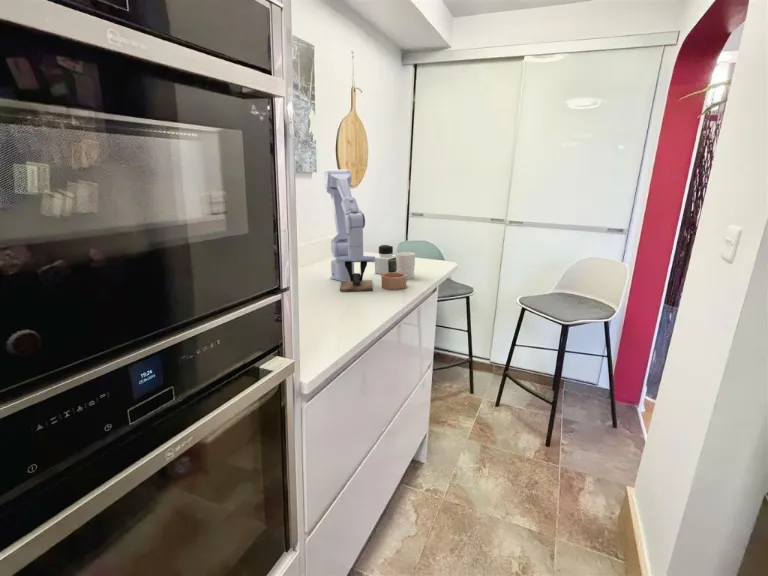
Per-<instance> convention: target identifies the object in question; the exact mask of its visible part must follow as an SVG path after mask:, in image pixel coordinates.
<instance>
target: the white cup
mask: <svg viewBox="0 0 768 576" xmlns="http://www.w3.org/2000/svg"><path fill="white" fill-rule="evenodd" d="M395 256H396V265H397V272H399V273H404V274H406V280H411V279H413V278H414V276H415V265H416V253H415V252H410V251H401V252H396V253H395Z"/></svg>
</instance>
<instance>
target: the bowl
mask: <svg viewBox="0 0 768 576" xmlns="http://www.w3.org/2000/svg"><path fill="white" fill-rule="evenodd" d="M380 275H381V280H380V281H381V288H382V287H383V289H384V288H385V290H391V289H396V290H402V288H403V289H405V288H407V279H406V274H404V273H399V272H392V273H385V274H380Z"/></svg>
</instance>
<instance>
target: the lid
mask: <svg viewBox="0 0 768 576" xmlns="http://www.w3.org/2000/svg"><path fill="white" fill-rule="evenodd" d="M360 276H361V272H354V274H352V278H353V282H351V280H350V281H341V282H340V285H339V286H340V287H339V291H340V292H352V291H353V292H355V291H357V292H358V291H373V290H374V289H373V288H374V287H373V279H371V280H369V279H366V280H365V279H362V282H360Z"/></svg>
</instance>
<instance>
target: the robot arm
mask: <svg viewBox="0 0 768 576" xmlns="http://www.w3.org/2000/svg"><path fill="white" fill-rule="evenodd" d="M323 175H324V186H325V191H326V193H328V194H329V195H330V197H331V202H332V208H333V209H332V210H333V217H334V222H335V223H334V224H335V230H336V234H335V235H334V236H333V237H332V238H331V241H330V243H331V247H330V248H331V249H330V250H331V255H332V256H333V258H332V259H331V262H330V269H331V273H330V274H331V276H330V277H329V279H331V280H336V281H341V282H342V281H351V282H353V278H352V274H354V273H355V263H360V265H359V266H360V267H359V269H360V282H362V280H363V277H364V273H365V271H366V268H367V266H368V263H375V257H376V256H374V255H371V256H369V255H367V256H366V255H364V229H365V227H366V218H365V213H364V212H363V211H362V210H360V208H359V206H358V203H357V199H356V198H355V197H354V196H352V193H351V188H350V187H351V183H352V173H351V170H350V169H349V168H346V169H328V168H327V169H325V170H324V174H323Z"/></svg>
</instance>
